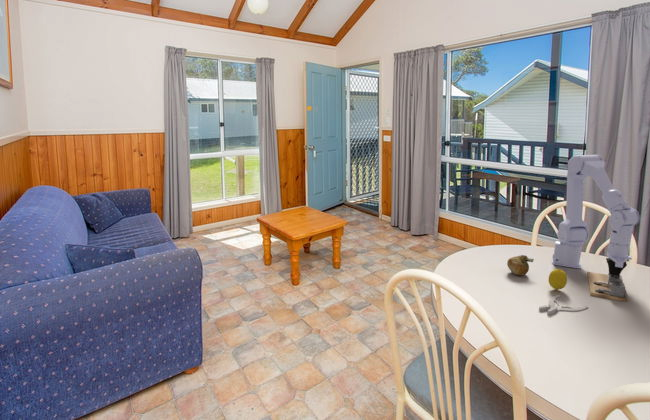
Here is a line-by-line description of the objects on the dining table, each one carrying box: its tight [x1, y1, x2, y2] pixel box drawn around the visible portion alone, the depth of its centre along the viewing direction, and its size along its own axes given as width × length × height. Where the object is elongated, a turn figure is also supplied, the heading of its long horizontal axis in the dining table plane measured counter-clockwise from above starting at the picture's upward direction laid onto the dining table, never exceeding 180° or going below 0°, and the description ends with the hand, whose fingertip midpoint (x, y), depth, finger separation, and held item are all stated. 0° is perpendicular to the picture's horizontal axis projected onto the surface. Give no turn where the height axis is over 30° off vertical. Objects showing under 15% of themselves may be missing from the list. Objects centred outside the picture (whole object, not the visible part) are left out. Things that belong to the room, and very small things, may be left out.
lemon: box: [548, 268, 568, 291], centre depth 137 cm, size 6×6×8 cm
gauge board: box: [586, 271, 628, 303], centre depth 140 cm, size 10×20×2 cm, turn 150°
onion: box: [506, 254, 535, 276], centre depth 151 cm, size 8×8×8 cm
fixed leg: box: [598, 281, 626, 297], centre depth 132 cm, size 7×4×4 cm, turn 60°
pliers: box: [538, 294, 589, 316], centre depth 127 cm, size 10×2×15 cm
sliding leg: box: [597, 273, 624, 287], centre depth 138 cm, size 7×4×4 cm, turn 60°
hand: (613, 279), depth 140 cm, fingers closed
